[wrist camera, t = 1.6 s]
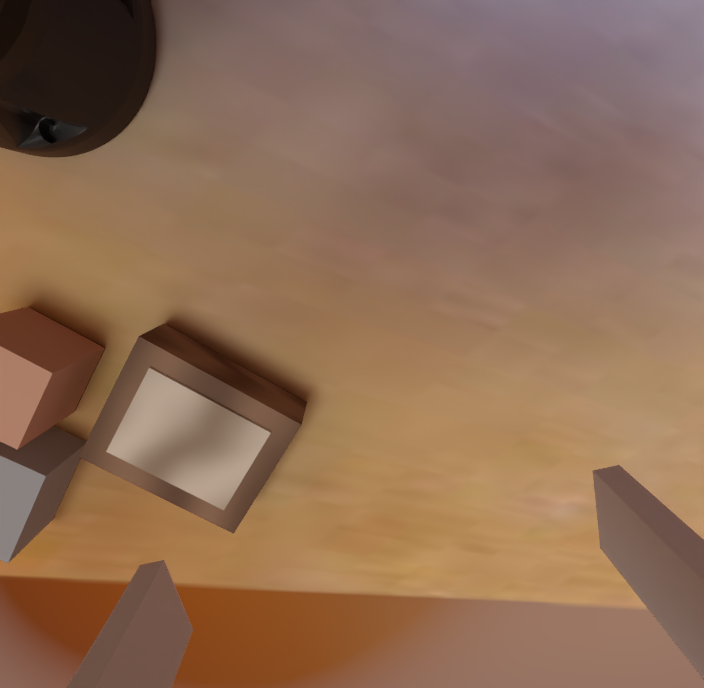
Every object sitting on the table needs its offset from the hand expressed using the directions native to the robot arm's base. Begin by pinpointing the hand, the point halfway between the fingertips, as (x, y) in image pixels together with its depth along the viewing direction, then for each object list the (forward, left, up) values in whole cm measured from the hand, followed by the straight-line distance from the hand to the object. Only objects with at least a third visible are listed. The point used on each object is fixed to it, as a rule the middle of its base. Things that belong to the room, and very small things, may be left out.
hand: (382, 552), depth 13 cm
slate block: (-19, -21, -21) cm, 35 cm away
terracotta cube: (-20, -12, -21) cm, 31 cm away
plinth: (-8, -10, -20) cm, 24 cm away
